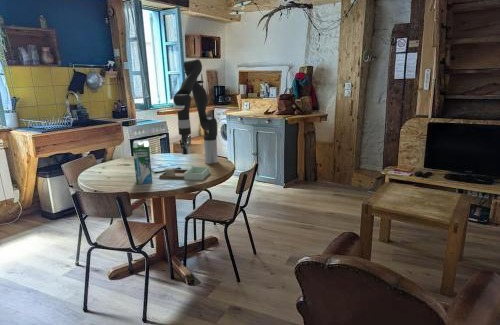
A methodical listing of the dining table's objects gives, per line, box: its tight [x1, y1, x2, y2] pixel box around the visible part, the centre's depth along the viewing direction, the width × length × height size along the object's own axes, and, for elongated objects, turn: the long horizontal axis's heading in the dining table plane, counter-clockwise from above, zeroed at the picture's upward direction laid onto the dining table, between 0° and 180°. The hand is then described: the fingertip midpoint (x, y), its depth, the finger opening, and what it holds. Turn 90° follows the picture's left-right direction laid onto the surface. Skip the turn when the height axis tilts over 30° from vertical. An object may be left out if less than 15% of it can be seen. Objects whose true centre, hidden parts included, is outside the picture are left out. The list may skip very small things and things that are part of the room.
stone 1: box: [164, 167, 176, 176], centre depth 224 cm, size 4×4×4 cm
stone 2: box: [180, 145, 192, 155], centre depth 221 cm, size 4×4×4 cm
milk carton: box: [132, 140, 153, 186], centre depth 210 cm, size 9×9×25 cm
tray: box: [158, 168, 189, 180], centre depth 224 cm, size 16×16×2 cm
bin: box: [183, 166, 211, 181], centre depth 221 cm, size 16×12×5 cm
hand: (186, 153), depth 221 cm, fingers closed on stone 2, 4 cm apart
